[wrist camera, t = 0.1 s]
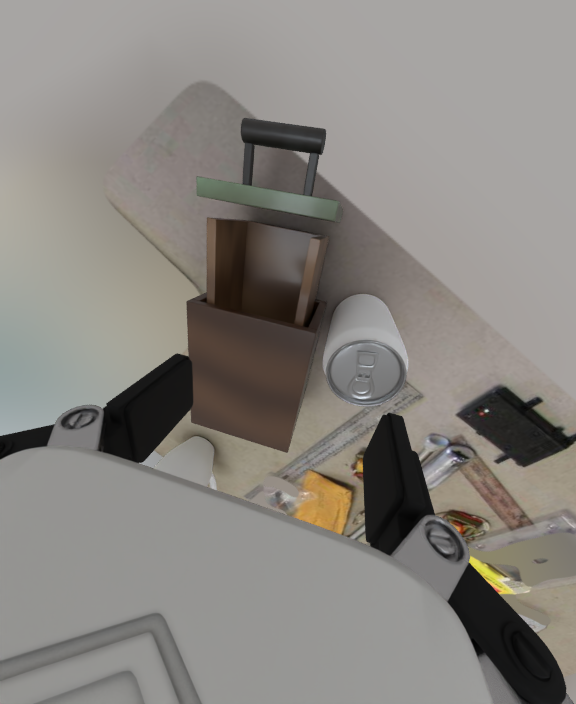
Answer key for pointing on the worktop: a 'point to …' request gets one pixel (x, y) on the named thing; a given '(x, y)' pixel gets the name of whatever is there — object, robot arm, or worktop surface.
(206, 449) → the mug
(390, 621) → the robot arm
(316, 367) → the worktop surface
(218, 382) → the cabinet
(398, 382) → the can
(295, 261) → the drawer
